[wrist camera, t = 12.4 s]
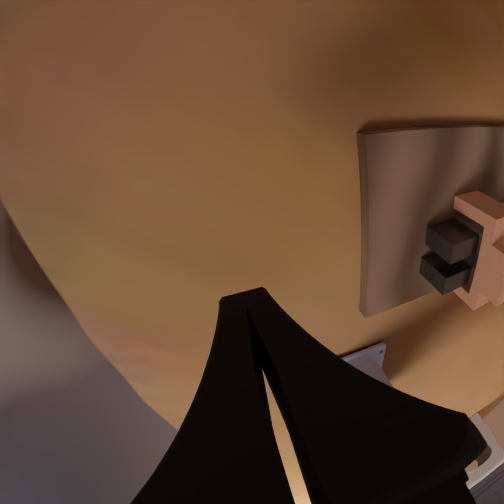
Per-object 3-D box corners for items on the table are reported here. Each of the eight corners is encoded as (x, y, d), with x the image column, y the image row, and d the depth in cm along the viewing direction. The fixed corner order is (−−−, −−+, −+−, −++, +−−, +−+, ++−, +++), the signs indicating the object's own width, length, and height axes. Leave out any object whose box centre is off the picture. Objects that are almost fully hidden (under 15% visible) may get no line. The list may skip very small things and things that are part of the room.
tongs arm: (522, 195, 20) (543, 207, 18) (520, 208, 21) (541, 221, 19) (426, 226, 19) (453, 245, 17) (425, 244, 20) (450, 264, 18)
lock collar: (477, 190, 19) (536, 223, 13) (464, 271, 23) (509, 311, 17) (454, 196, 19) (517, 233, 13) (442, 281, 23) (488, 326, 17)
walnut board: (539, 126, 19) (545, 128, 18) (524, 240, 26) (529, 244, 25) (356, 132, 17) (365, 134, 16) (359, 310, 24) (364, 318, 23)
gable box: (478, 411, 55) (523, 482, 31) (467, 428, 62) (506, 491, 37) (410, 456, 55) (451, 537, 31) (405, 467, 62) (440, 538, 38)
